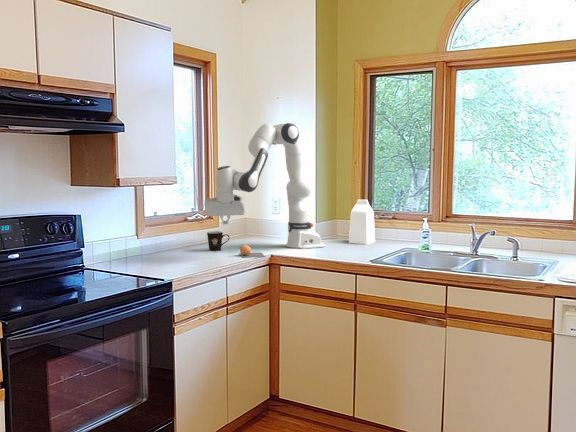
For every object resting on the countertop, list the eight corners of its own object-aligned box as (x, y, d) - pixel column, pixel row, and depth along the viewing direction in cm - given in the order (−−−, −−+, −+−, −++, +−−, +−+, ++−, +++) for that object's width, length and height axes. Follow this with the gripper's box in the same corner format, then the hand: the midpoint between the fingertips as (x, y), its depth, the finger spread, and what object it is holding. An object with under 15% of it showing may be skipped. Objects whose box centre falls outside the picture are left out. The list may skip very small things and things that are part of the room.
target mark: (261, 252, 296) (261, 252, 296) (265, 256, 284) (265, 256, 284) (239, 253, 293) (239, 253, 293) (242, 257, 282) (242, 257, 282)
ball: (245, 242, 290) (237, 248, 289) (247, 243, 285) (238, 250, 284) (252, 250, 291) (243, 256, 291) (253, 251, 286) (245, 258, 285)
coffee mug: (204, 250, 302) (204, 233, 301) (211, 248, 310) (211, 231, 309) (223, 252, 298) (223, 234, 297) (230, 249, 307) (230, 231, 305)
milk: (348, 242, 330) (349, 199, 327) (357, 240, 339) (358, 198, 337) (366, 244, 323) (367, 200, 320) (375, 242, 333) (375, 199, 330)
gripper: (204, 198, 277) (205, 225, 278) (244, 197, 282) (245, 224, 283) (203, 197, 283) (204, 224, 285) (243, 196, 288) (243, 222, 289)
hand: (225, 224), depth 284 cm, fingers closed
